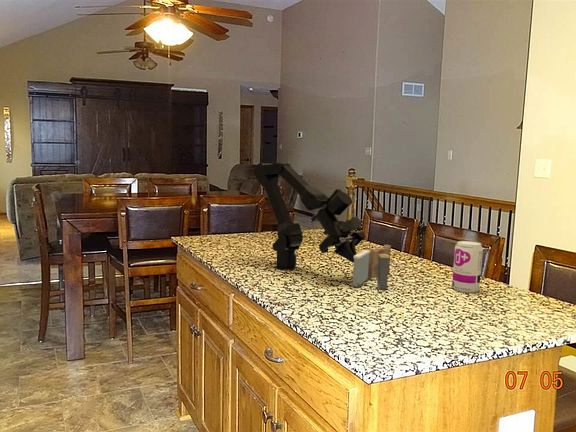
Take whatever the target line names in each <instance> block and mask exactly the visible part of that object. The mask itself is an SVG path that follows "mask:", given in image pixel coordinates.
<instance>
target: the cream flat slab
mask: <svg viewBox="0 0 576 432" xmlns="http://www.w3.org/2000/svg"><path fill="white" fill-rule="evenodd" d="M369 253H370V250H364V249H363V250H362V251H360V252H359V253H357V254H356V255H355V256H354V263H353V271H352V276H353V277H352V285H351V286H352V287H353V288H358V287H359V286H360V285H361V284H363V283H364V282H365V281H368V280H367V279H368V267H369Z"/></svg>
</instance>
